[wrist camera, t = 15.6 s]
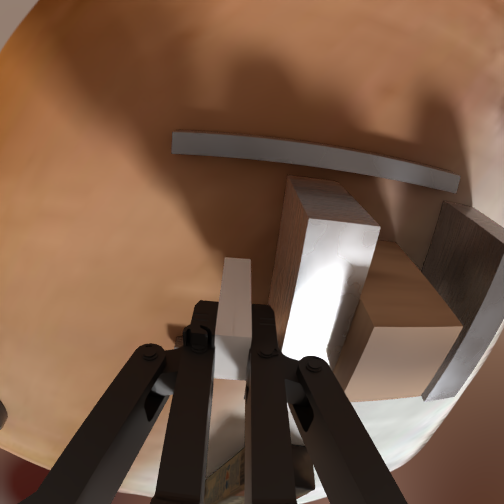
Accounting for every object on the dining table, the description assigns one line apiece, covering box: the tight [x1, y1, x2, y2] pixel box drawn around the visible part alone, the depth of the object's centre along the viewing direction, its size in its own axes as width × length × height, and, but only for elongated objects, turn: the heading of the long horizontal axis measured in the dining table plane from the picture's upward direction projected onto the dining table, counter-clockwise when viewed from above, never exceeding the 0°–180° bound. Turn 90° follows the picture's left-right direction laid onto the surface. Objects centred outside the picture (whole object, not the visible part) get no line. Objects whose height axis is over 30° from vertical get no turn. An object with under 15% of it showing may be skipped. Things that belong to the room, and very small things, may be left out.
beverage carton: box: [204, 445, 315, 504], centre depth 32 cm, size 8×19×7 cm, turn 153°
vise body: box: [171, 130, 504, 402], centre depth 18 cm, size 20×16×7 cm
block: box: [333, 240, 463, 402], centre depth 17 cm, size 5×5×9 cm
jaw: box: [268, 175, 381, 412], centre depth 18 cm, size 3×12×7 cm, turn 174°
